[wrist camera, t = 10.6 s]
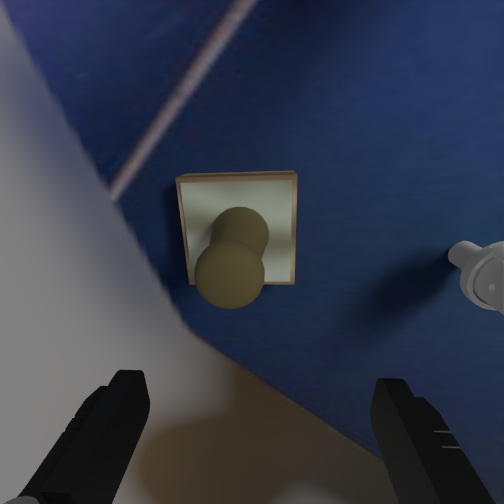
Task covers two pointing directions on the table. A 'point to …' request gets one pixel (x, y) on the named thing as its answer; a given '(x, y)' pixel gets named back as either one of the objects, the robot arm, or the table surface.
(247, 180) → the base block
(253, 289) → the cork
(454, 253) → the grey mechanical part
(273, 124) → the table surface
